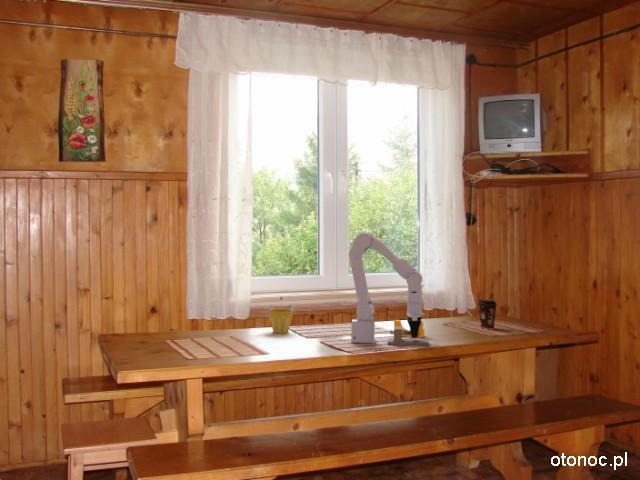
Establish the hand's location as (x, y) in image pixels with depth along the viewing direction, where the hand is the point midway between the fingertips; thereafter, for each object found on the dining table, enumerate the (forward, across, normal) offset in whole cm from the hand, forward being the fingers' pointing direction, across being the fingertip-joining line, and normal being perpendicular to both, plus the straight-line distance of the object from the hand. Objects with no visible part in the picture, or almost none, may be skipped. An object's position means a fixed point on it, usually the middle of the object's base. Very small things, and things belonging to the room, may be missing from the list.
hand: (414, 336), depth 271 cm
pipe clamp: (+3, +19, +2) cm, 19 cm away
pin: (+1, 0, +4) cm, 4 cm away
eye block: (+3, 0, +2) cm, 3 cm away
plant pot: (+3, +20, +58) cm, 61 cm away
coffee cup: (+3, +46, -34) cm, 57 cm away
